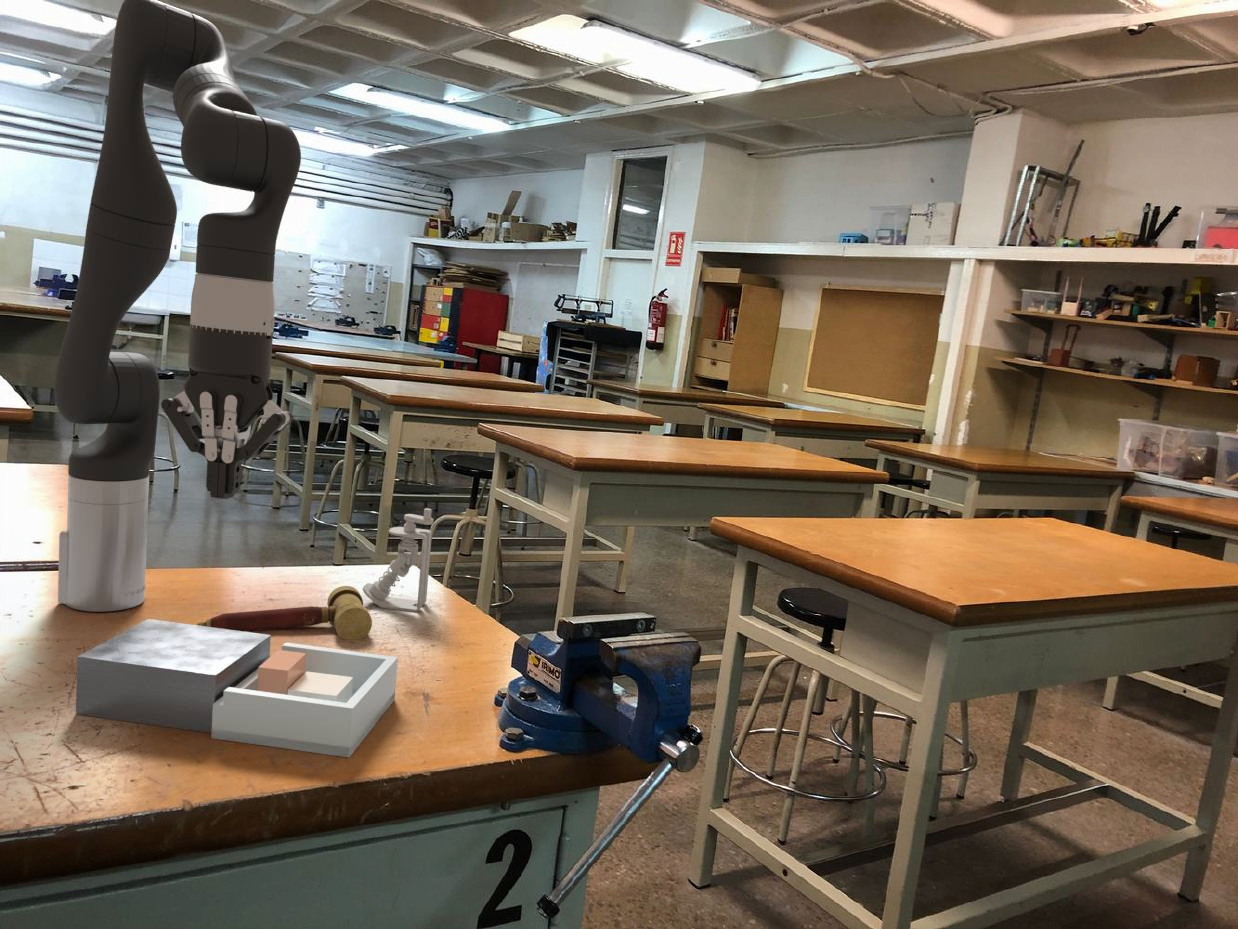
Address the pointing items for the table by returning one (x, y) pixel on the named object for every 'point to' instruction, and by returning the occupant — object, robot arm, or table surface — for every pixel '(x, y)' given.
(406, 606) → the clamp
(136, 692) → the grey metallic box
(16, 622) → the table surface
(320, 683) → the tile cream
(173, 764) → the table surface
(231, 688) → the box
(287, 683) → the tile terracotta
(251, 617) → the gavel
